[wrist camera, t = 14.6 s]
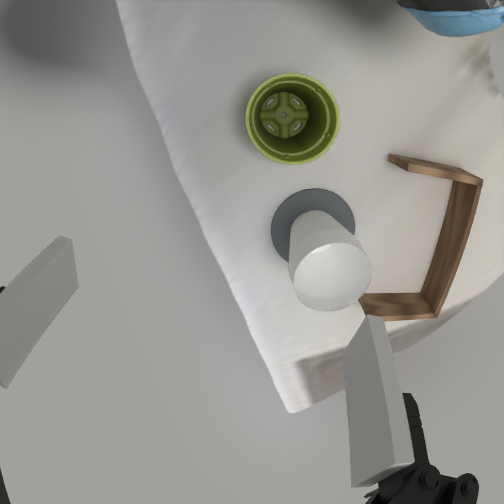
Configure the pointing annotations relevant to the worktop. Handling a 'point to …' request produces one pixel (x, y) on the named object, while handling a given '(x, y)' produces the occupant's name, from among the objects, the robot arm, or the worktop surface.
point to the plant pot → (292, 119)
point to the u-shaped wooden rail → (446, 250)
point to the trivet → (302, 204)
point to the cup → (326, 263)
